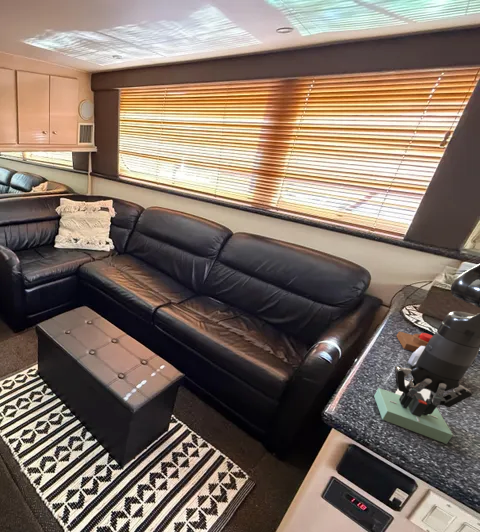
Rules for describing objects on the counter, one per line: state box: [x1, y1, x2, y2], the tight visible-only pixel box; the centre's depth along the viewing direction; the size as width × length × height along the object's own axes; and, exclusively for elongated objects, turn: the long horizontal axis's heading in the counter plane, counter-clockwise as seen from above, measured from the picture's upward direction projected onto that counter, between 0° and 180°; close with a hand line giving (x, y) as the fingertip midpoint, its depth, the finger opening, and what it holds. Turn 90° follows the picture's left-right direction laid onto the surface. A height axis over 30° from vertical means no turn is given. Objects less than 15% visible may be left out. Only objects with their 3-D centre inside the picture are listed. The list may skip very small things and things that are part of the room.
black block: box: [408, 392, 428, 417], centre depth 81 cm, size 5×2×4 cm, turn 148°
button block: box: [396, 330, 428, 353], centre depth 114 cm, size 12×10×4 cm
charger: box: [407, 346, 425, 367], centre depth 102 cm, size 5×9×15 cm
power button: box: [419, 332, 433, 342], centre depth 113 cm, size 4×4×2 cm
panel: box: [373, 387, 454, 445], centre depth 82 cm, size 12×10×3 cm
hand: (413, 408), depth 81 cm, fingers open, 3 cm apart
